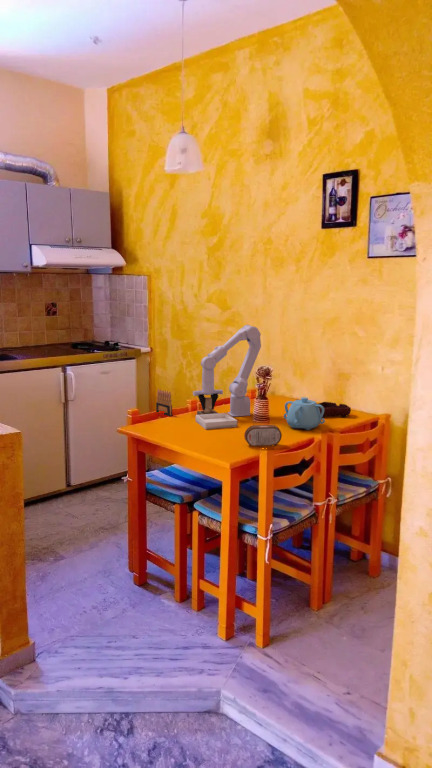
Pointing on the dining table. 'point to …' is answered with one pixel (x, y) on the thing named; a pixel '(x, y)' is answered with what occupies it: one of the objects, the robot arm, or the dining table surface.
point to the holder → (203, 412)
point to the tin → (263, 435)
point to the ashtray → (334, 409)
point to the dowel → (208, 405)
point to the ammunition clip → (164, 402)
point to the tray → (216, 421)
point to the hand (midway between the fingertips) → (207, 409)
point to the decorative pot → (304, 414)
